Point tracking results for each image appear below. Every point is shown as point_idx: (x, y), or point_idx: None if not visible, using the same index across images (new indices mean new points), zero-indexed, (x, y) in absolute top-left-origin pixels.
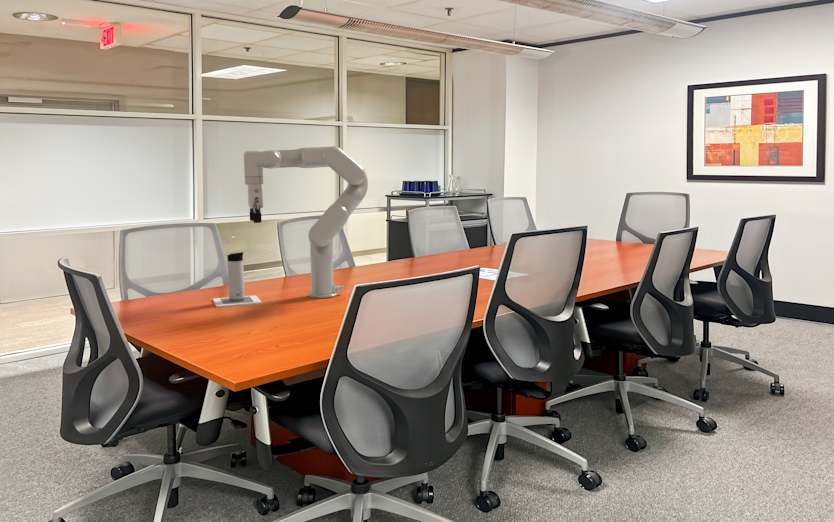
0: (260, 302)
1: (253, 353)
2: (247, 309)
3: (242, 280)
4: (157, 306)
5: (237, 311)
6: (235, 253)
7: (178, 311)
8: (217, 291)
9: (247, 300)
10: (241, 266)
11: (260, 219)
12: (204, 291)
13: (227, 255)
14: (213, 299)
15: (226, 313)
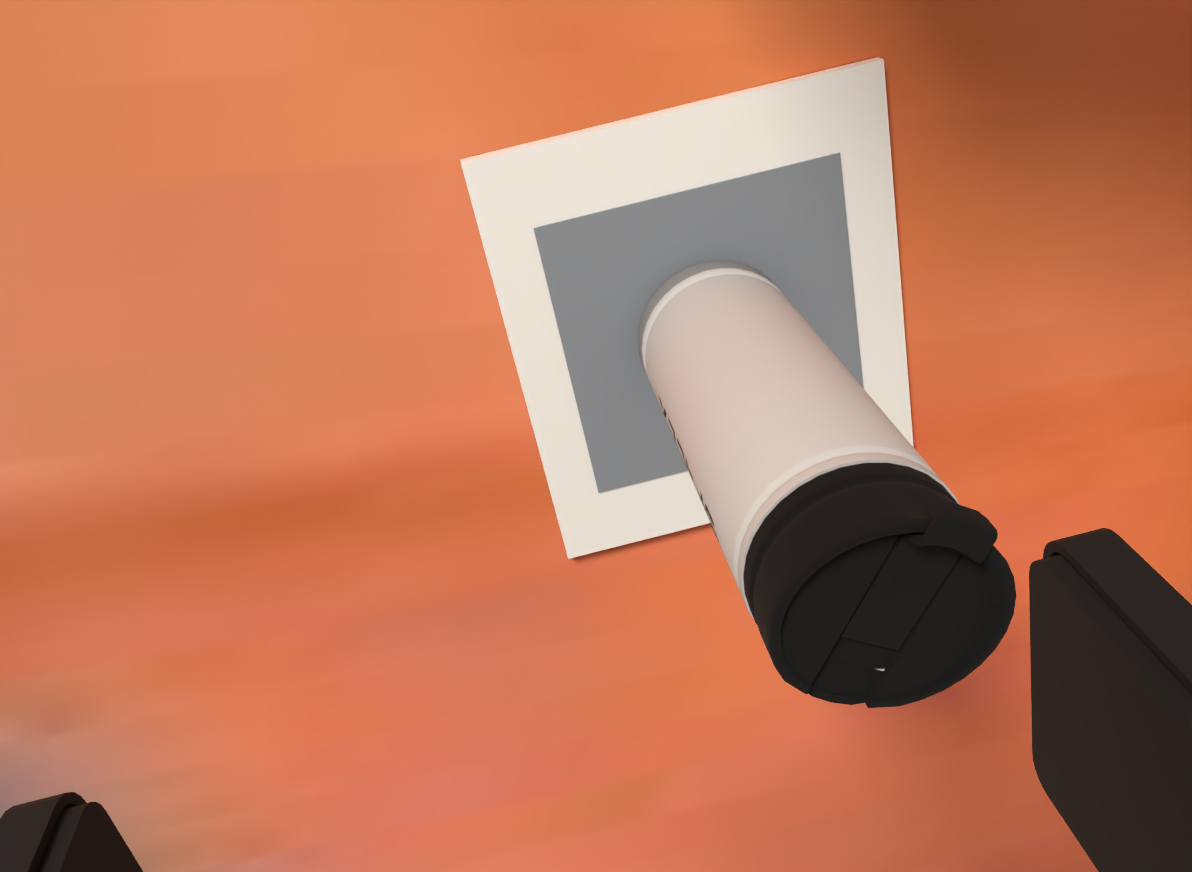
0: (884, 77)
1: None
2: (1097, 186)
3: (825, 349)
4: (734, 853)
5: (1145, 268)
6: (780, 628)
7: (961, 694)
8: (113, 584)
9: (754, 227)
10: (900, 434)
11: (1181, 628)
12: (113, 691)
13: (900, 700)
14: (612, 543)
15: (1184, 349)
